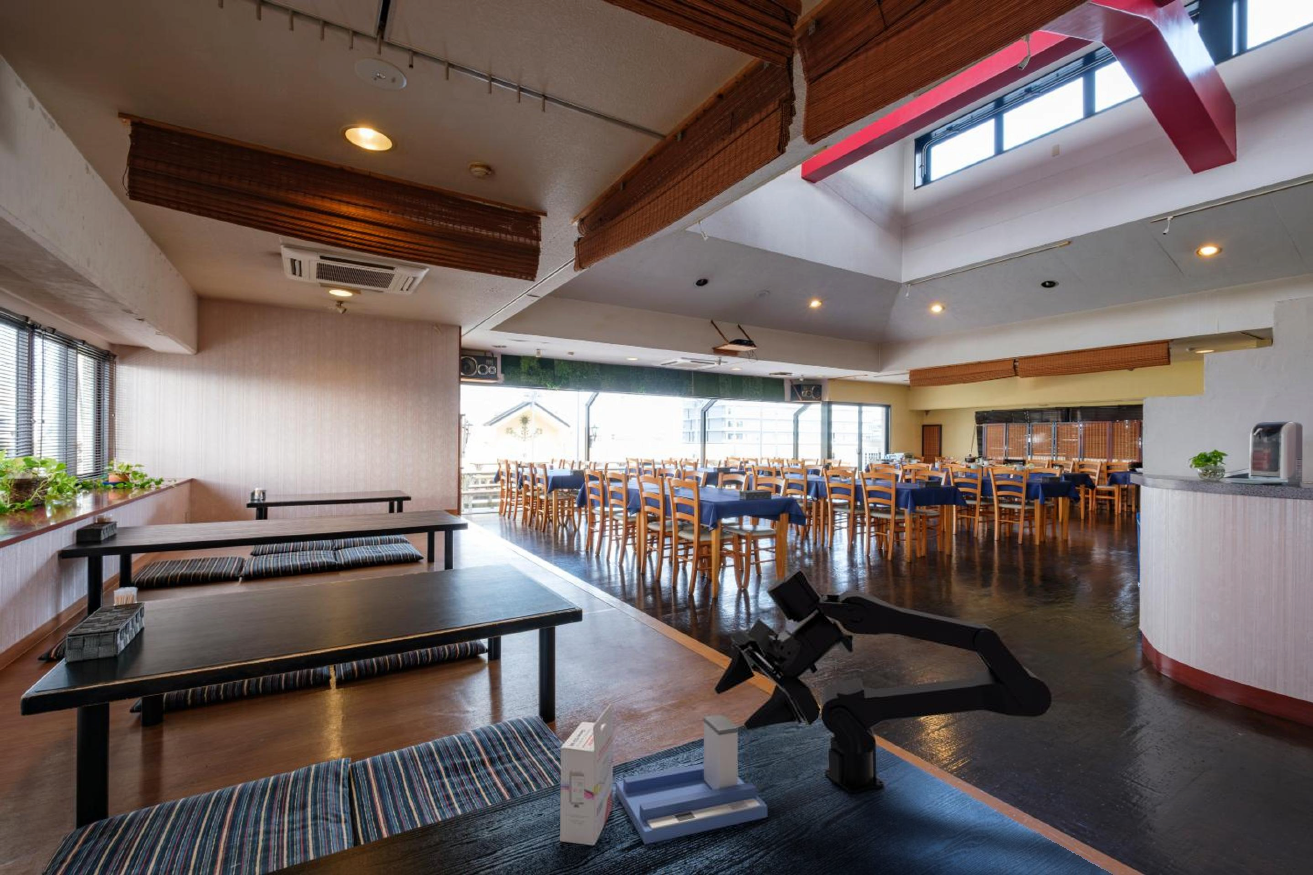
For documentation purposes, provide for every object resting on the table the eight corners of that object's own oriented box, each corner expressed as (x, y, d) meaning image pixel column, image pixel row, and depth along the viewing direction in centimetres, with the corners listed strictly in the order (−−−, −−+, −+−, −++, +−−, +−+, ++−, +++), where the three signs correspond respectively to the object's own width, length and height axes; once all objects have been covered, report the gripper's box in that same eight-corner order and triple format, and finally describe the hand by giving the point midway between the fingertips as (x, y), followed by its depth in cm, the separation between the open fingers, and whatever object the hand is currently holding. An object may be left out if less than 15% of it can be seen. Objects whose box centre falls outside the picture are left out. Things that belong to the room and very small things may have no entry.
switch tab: (722, 775, 87) (722, 714, 87) (738, 792, 82) (738, 727, 83) (702, 778, 86) (703, 716, 86) (718, 796, 81) (718, 730, 81)
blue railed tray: (723, 772, 91) (723, 752, 91) (767, 816, 79) (767, 794, 79) (615, 792, 85) (616, 771, 85) (644, 844, 73) (645, 819, 73)
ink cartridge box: (579, 805, 81) (581, 698, 82) (613, 809, 80) (614, 701, 81) (557, 842, 73) (560, 722, 74) (594, 847, 72) (596, 726, 73)
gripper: (755, 585, 97) (682, 641, 93) (826, 636, 80) (740, 707, 76) (780, 632, 101) (710, 688, 97) (852, 691, 84) (771, 762, 80)
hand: (730, 708), depth 87 cm, fingers open, 9 cm apart
